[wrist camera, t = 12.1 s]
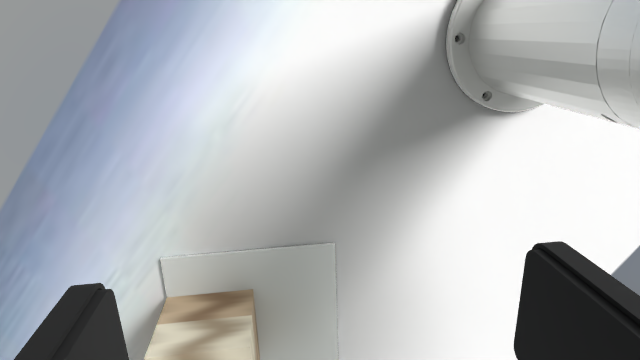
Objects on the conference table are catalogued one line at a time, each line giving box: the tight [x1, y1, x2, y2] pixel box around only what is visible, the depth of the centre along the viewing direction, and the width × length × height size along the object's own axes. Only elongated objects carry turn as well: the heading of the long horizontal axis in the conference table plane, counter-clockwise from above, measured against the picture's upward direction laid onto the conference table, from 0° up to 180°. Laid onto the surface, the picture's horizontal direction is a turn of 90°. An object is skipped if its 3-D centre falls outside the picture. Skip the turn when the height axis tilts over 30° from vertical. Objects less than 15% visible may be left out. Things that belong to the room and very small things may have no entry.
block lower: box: [157, 289, 260, 360], centre depth 40 cm, size 8×8×4 cm
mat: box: [160, 243, 338, 360], centre depth 43 cm, size 16×16×1 cm
